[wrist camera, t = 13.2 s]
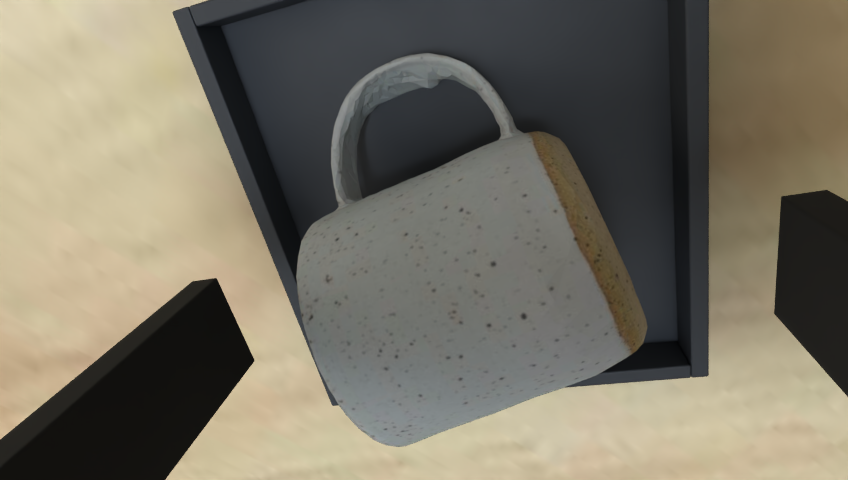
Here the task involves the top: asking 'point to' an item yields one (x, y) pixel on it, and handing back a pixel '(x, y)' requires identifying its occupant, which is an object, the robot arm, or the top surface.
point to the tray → (482, 124)
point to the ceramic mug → (459, 274)
